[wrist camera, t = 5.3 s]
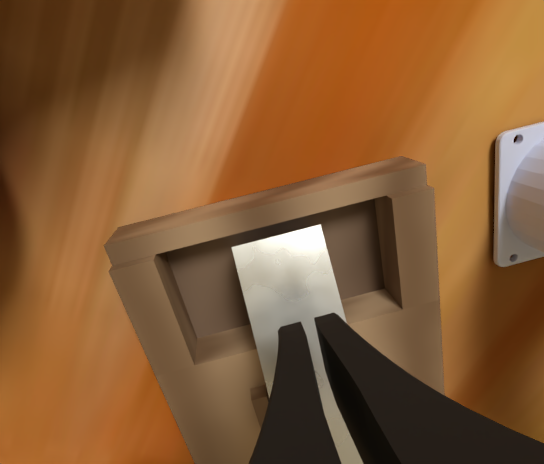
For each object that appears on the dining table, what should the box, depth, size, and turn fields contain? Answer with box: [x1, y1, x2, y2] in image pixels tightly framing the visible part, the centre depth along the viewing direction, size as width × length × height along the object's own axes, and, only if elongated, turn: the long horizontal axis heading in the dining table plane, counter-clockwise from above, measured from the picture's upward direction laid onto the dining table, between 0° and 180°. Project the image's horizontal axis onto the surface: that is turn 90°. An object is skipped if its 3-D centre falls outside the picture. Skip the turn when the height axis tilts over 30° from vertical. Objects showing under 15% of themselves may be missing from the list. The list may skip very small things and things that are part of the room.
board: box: [104, 156, 445, 464], centre depth 21 cm, size 15×24×4 cm, turn 13°
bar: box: [231, 224, 363, 464], centre depth 17 cm, size 4×11×3 cm, turn 13°
